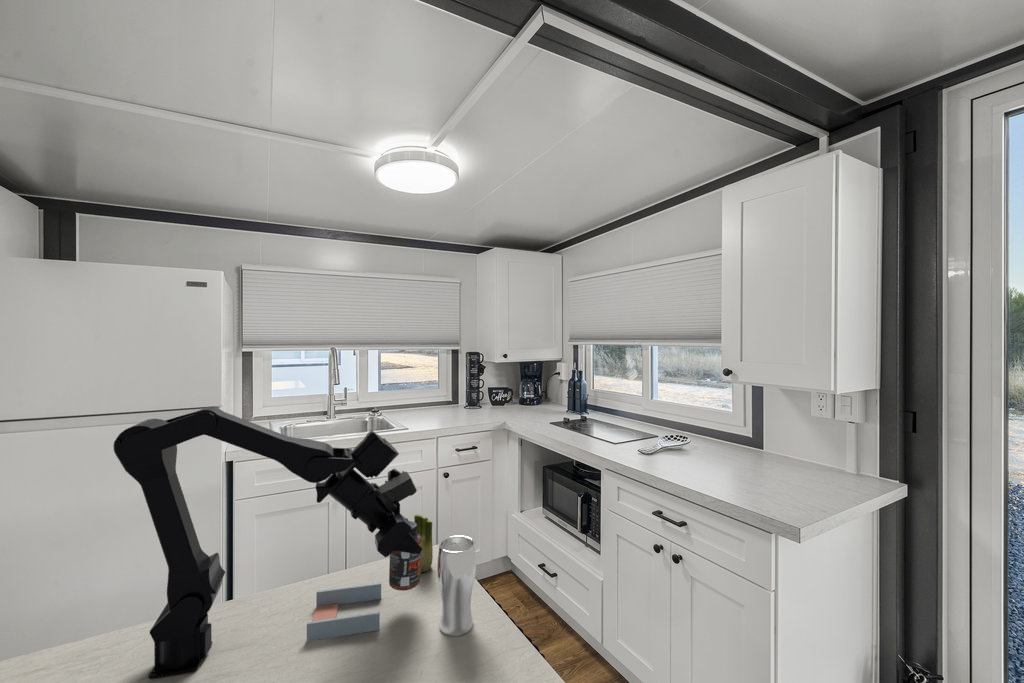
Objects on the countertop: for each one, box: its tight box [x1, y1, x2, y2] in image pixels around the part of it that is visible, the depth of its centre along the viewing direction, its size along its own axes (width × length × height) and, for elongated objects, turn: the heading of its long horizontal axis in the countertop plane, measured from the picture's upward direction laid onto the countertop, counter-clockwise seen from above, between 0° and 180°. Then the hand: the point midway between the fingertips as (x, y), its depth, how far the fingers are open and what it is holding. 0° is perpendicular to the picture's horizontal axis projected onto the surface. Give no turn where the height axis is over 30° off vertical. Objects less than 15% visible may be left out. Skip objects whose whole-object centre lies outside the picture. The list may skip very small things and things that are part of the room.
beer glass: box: [437, 535, 477, 637], centre depth 80 cm, size 7×7×15 cm
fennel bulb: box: [413, 514, 434, 573], centre depth 99 cm, size 6×5×12 cm
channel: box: [306, 582, 382, 642], centre depth 82 cm, size 12×10×3 cm
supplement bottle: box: [388, 520, 422, 592], centre depth 84 cm, size 6×6×11 cm
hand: (416, 544), depth 85 cm, fingers closed on supplement bottle, 6 cm apart
